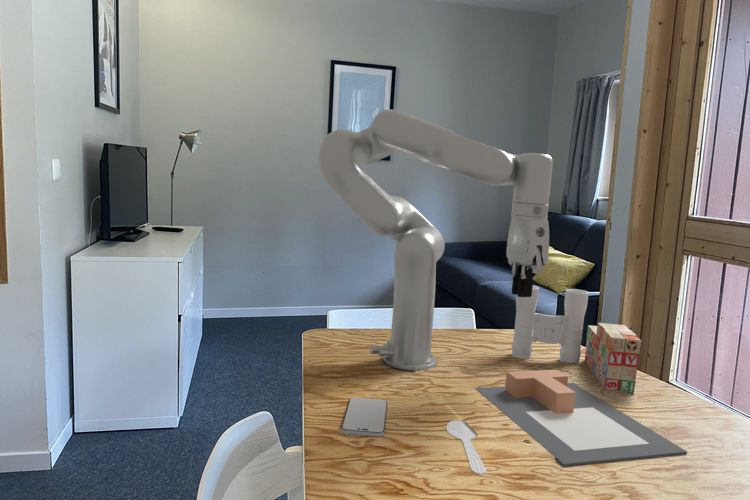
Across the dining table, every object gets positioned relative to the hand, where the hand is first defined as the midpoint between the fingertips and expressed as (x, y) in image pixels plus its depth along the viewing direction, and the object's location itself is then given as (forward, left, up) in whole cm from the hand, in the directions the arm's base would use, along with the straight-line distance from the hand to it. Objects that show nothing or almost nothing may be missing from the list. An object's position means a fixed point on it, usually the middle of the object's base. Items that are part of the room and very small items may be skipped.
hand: (521, 294), depth 121 cm
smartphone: (-38, -14, -20) cm, 45 cm away
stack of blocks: (+24, -1, -20) cm, 31 cm away
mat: (0, -21, -19) cm, 28 cm away
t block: (0, -13, -19) cm, 23 cm away
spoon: (-24, -27, -20) cm, 41 cm away
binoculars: (+16, +12, -19) cm, 28 cm away
